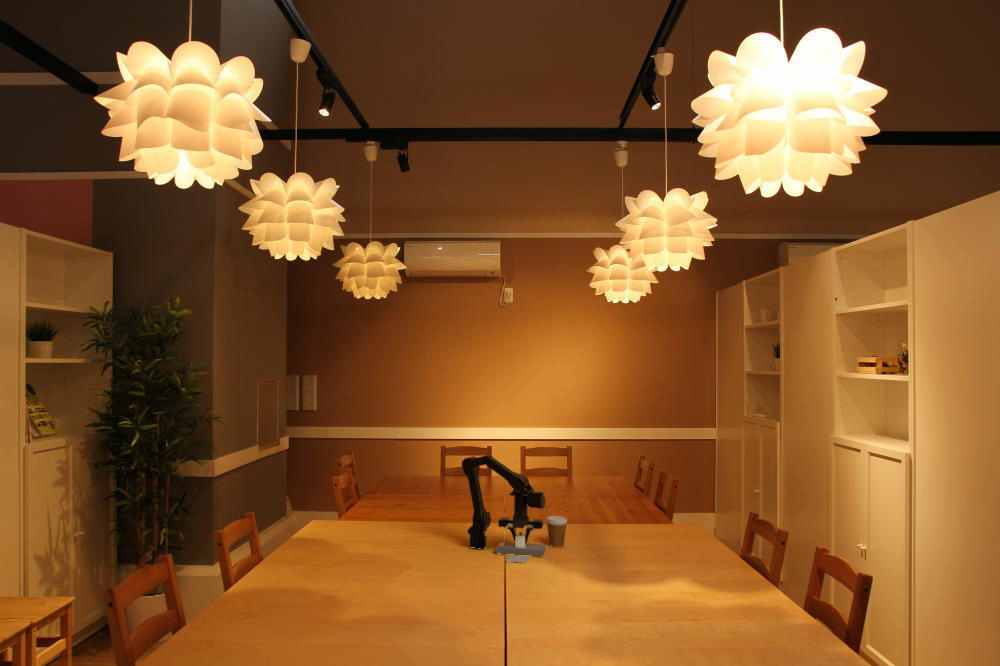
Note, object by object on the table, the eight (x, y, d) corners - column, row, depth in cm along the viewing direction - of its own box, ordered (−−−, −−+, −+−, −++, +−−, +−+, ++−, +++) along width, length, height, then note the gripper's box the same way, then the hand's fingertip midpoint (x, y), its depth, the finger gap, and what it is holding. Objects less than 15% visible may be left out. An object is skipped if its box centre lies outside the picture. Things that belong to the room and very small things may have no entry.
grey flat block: (495, 554, 258) (495, 545, 258) (499, 548, 266) (499, 540, 266) (542, 557, 254) (542, 548, 254) (545, 551, 262) (545, 543, 262)
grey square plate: (505, 562, 247) (505, 560, 247) (509, 556, 255) (509, 554, 255) (525, 563, 246) (525, 562, 246) (528, 557, 254) (528, 556, 254)
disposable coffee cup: (568, 548, 267) (568, 520, 267) (546, 548, 267) (546, 520, 267) (566, 542, 276) (566, 515, 277) (545, 542, 276) (545, 515, 277)
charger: (515, 553, 258) (515, 533, 259) (516, 550, 262) (516, 530, 263) (524, 553, 258) (524, 533, 258) (526, 550, 261) (526, 531, 262)
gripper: (495, 509, 255) (495, 547, 254) (540, 511, 251) (540, 550, 250) (500, 503, 266) (500, 540, 265) (543, 505, 262) (543, 542, 261)
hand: (520, 543), depth 260 cm, fingers closed on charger, 4 cm apart
